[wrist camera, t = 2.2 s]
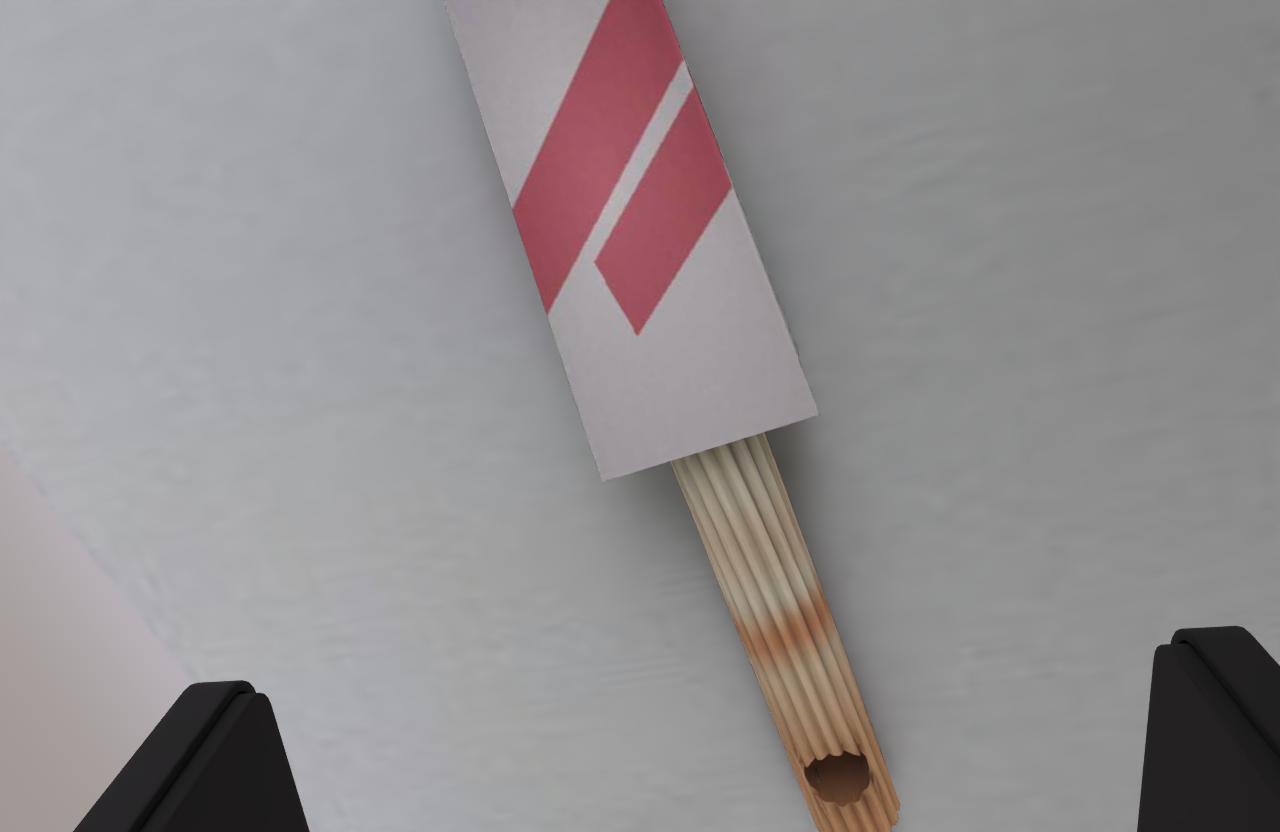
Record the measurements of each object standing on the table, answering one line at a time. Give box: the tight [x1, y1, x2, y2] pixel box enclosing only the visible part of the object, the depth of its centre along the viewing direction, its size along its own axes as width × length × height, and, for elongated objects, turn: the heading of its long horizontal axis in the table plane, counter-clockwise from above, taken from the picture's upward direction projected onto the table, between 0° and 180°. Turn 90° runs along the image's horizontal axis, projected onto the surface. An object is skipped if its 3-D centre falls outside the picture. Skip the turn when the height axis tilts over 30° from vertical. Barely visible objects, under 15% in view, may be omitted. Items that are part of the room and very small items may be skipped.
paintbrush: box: [443, 0, 900, 832], centre depth 17 cm, size 4×3×20 cm
